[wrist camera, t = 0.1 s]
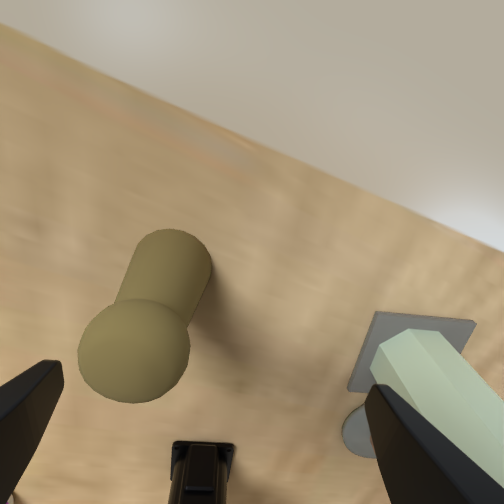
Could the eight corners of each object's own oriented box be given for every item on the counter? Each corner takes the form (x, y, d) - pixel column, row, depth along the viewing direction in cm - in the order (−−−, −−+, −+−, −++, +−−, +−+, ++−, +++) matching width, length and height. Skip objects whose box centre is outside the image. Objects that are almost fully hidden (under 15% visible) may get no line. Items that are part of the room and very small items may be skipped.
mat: (433, 393, 31) (436, 397, 30) (346, 387, 30) (348, 391, 29) (472, 320, 27) (476, 324, 27) (375, 311, 26) (378, 314, 26)
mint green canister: (429, 388, 30) (556, 569, 18) (363, 384, 29) (449, 568, 17) (459, 333, 27) (633, 504, 15) (386, 326, 26) (508, 500, 14)
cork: (222, 243, 23) (210, 344, 13) (199, 306, 25) (174, 434, 15) (142, 217, 22) (61, 306, 12) (125, 286, 24) (46, 409, 14)
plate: (407, 454, 35) (410, 459, 34) (332, 451, 34) (334, 456, 33) (437, 400, 31) (441, 405, 31) (355, 394, 30) (357, 399, 30)
